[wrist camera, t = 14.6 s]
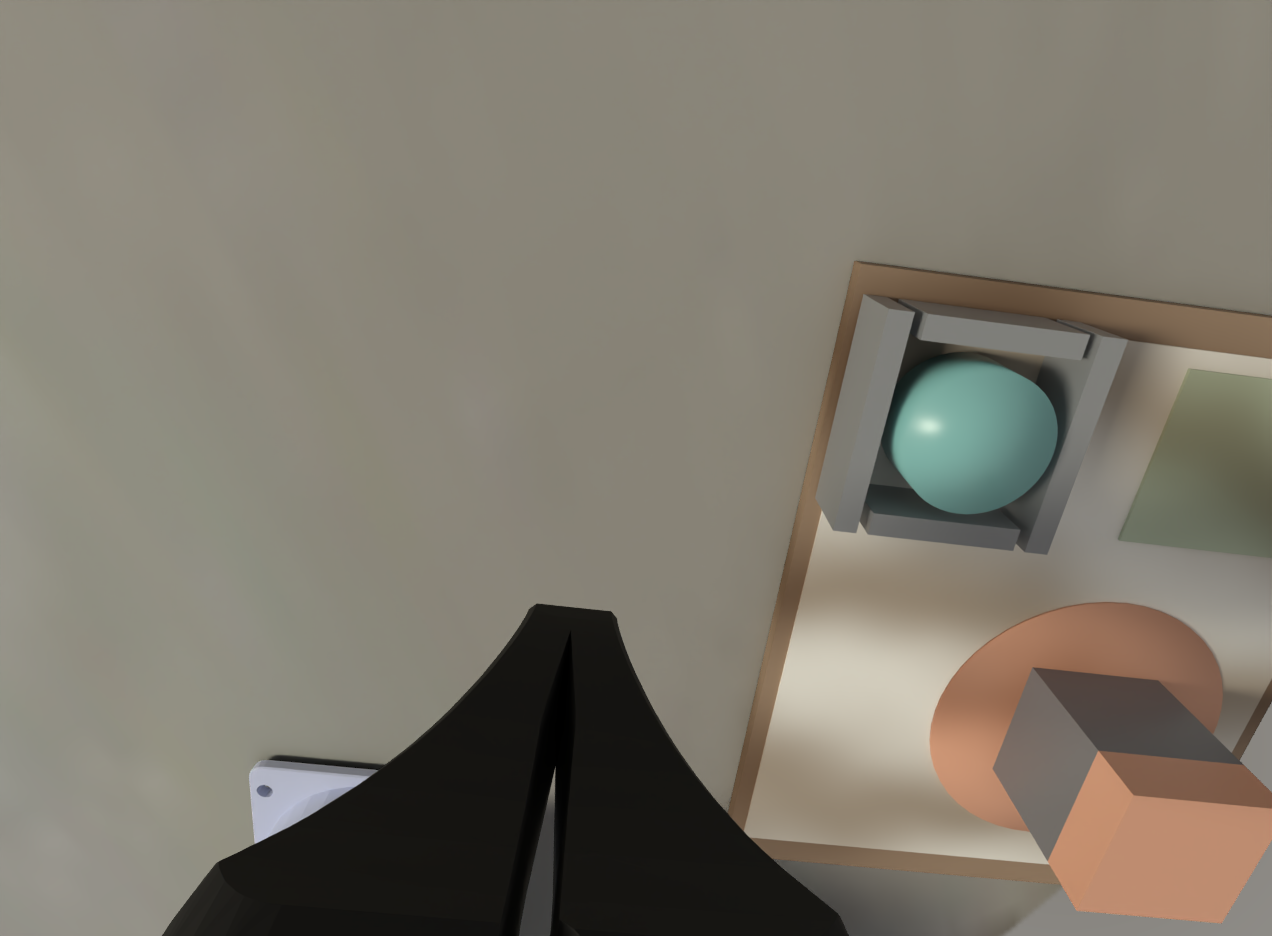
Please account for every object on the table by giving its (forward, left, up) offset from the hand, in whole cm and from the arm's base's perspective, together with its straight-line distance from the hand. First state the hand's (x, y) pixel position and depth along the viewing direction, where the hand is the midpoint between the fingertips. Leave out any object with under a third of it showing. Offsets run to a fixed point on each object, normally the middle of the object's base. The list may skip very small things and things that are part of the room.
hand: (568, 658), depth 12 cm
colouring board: (-4, -14, -9) cm, 17 cm away
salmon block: (-7, -16, -9) cm, 19 cm away
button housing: (+2, -9, -9) cm, 13 cm away
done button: (+2, -9, -8) cm, 12 cm away
